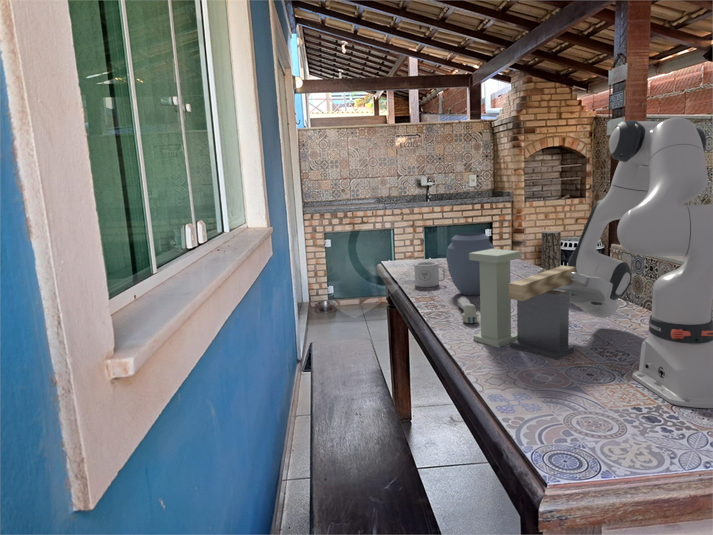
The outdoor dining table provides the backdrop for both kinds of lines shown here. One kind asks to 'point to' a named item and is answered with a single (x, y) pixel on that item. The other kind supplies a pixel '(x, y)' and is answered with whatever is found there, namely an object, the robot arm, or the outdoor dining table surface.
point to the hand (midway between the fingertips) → (556, 273)
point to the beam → (540, 283)
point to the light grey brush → (467, 310)
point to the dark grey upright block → (544, 325)
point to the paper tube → (551, 249)
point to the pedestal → (495, 296)
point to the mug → (427, 274)
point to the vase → (466, 261)
